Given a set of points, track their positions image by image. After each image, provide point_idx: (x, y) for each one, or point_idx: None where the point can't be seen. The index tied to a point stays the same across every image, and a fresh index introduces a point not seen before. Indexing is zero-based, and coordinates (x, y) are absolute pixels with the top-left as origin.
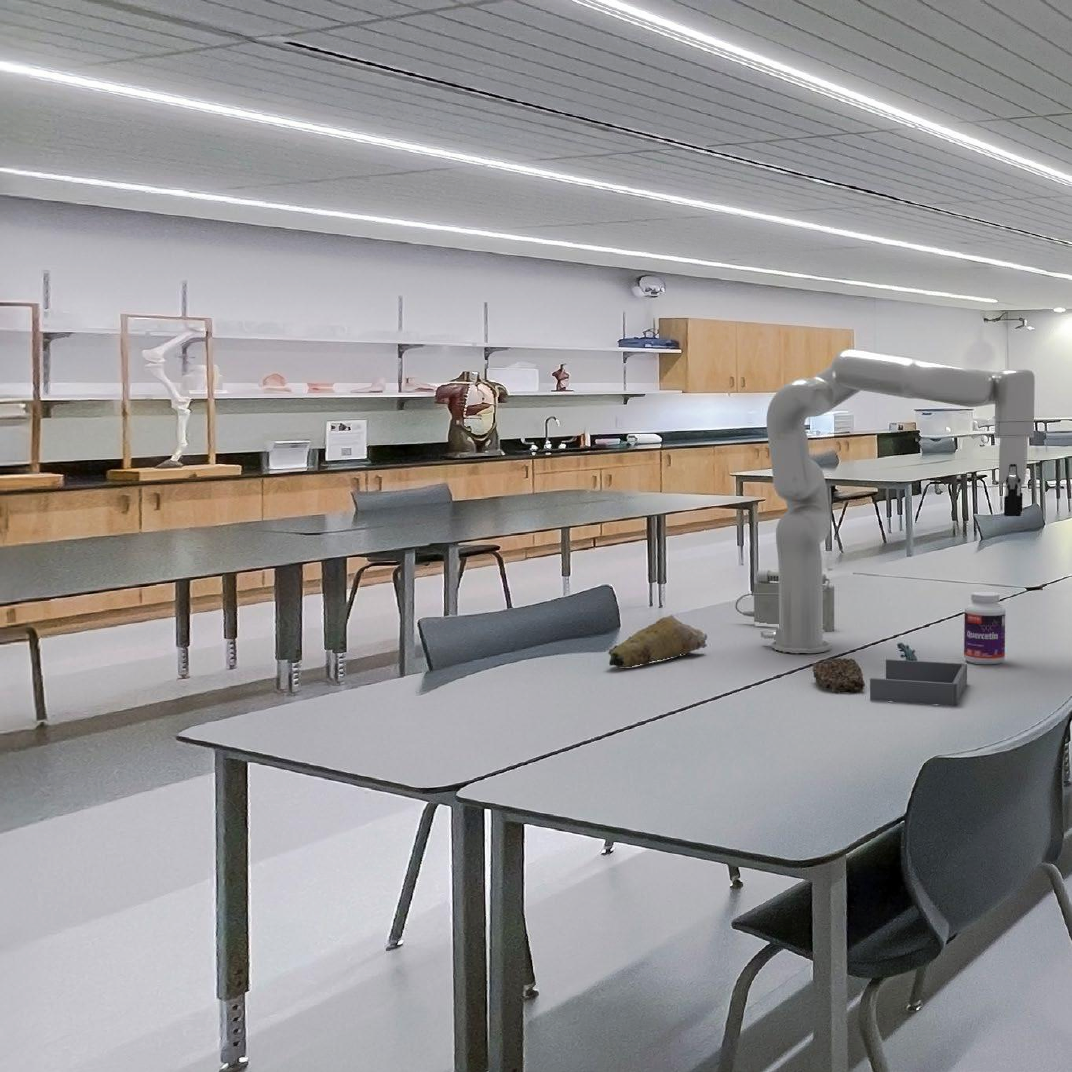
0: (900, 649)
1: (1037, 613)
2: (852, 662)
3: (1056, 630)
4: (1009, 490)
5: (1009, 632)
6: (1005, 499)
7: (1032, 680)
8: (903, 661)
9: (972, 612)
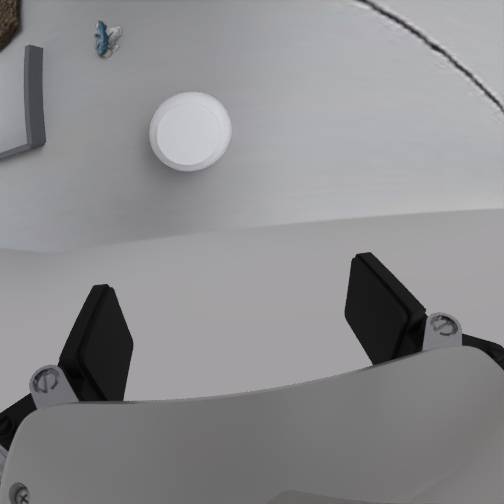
0: (104, 25)
1: (500, 183)
2: (2, 26)
3: (433, 204)
4: (14, 412)
5: (419, 148)
6: (67, 350)
7: (97, 210)
8: (24, 68)
9: (154, 113)
